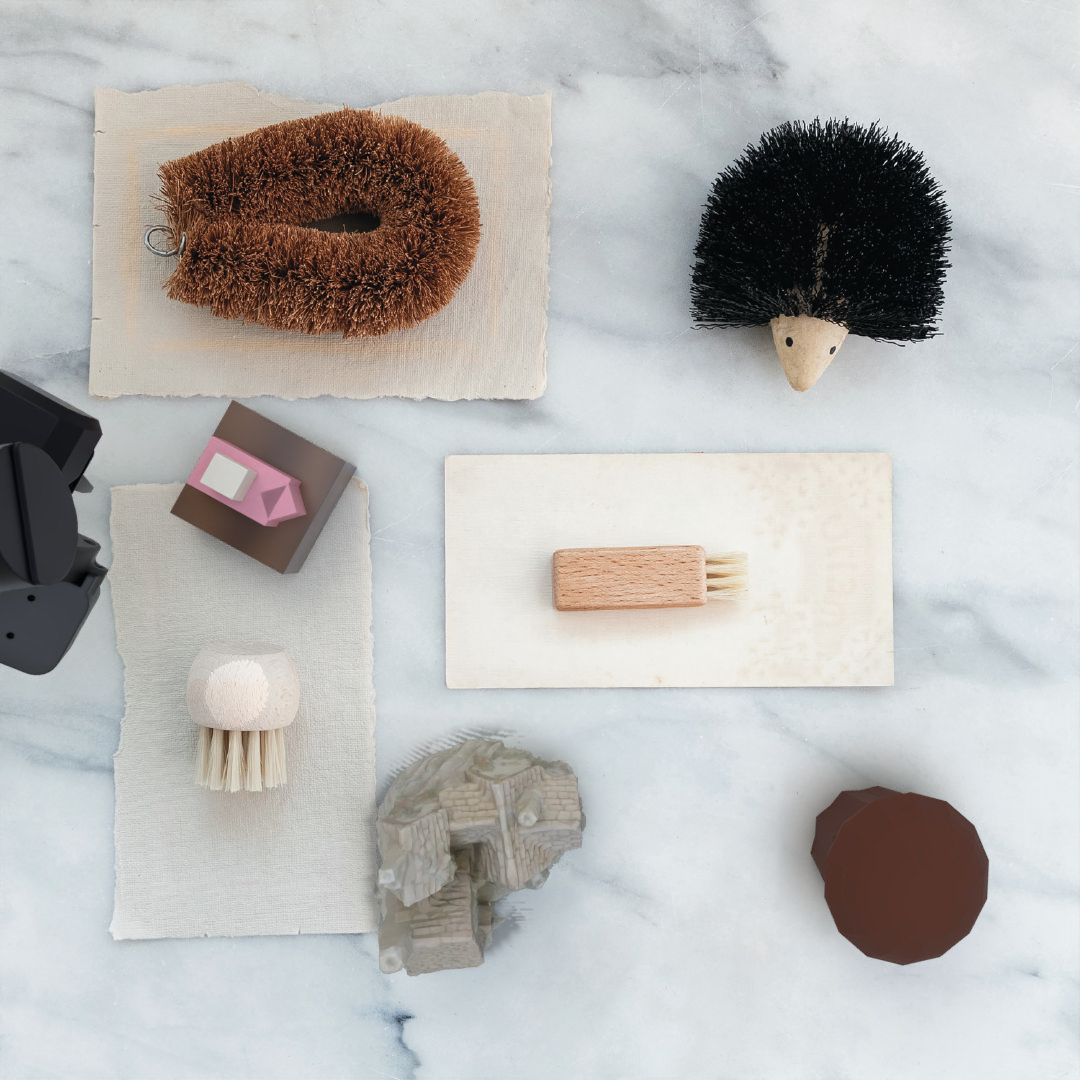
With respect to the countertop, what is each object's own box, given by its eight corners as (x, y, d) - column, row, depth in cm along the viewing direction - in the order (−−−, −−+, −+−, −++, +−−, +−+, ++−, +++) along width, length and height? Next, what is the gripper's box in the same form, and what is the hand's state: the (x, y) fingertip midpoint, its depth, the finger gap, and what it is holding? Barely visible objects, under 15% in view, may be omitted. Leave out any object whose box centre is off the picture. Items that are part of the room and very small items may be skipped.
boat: (200, 485, 59) (173, 480, 54) (226, 440, 59) (200, 431, 54) (294, 536, 59) (274, 535, 54) (319, 491, 59) (301, 486, 54)
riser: (197, 515, 64) (169, 512, 59) (255, 411, 64) (232, 399, 59) (302, 572, 64) (282, 574, 59) (360, 468, 64) (345, 461, 59)
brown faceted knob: (839, 741, 64) (896, 777, 54) (967, 808, 64) (1049, 856, 54) (767, 880, 64) (811, 942, 54) (896, 948, 64) (964, 1022, 54)
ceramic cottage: (365, 946, 63) (331, 1060, 48) (384, 725, 64) (358, 770, 49) (571, 956, 64) (601, 1070, 49) (587, 739, 65) (622, 786, 50)
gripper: (-102, 836, 36) (90, 749, 51) (113, 452, 36) (239, 482, 52) (-334, 710, 36) (-71, 661, 51) (-116, 326, 36) (79, 394, 52)
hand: (48, 552), depth 51 cm, fingers open, 9 cm apart
